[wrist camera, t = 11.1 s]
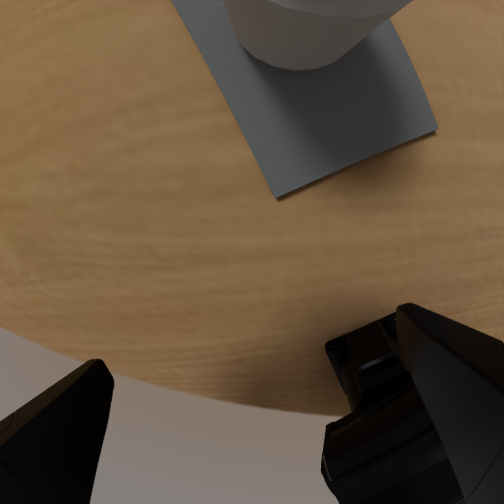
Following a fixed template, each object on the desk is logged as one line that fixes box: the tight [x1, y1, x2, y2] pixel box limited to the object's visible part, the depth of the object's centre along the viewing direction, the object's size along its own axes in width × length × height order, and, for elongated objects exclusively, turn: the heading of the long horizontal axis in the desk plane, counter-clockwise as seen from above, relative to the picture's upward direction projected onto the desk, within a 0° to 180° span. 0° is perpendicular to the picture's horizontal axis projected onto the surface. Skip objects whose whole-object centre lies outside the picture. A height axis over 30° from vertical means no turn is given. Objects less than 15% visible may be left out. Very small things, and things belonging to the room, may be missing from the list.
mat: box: [171, 0, 438, 198], centre depth 16 cm, size 16×12×1 cm
